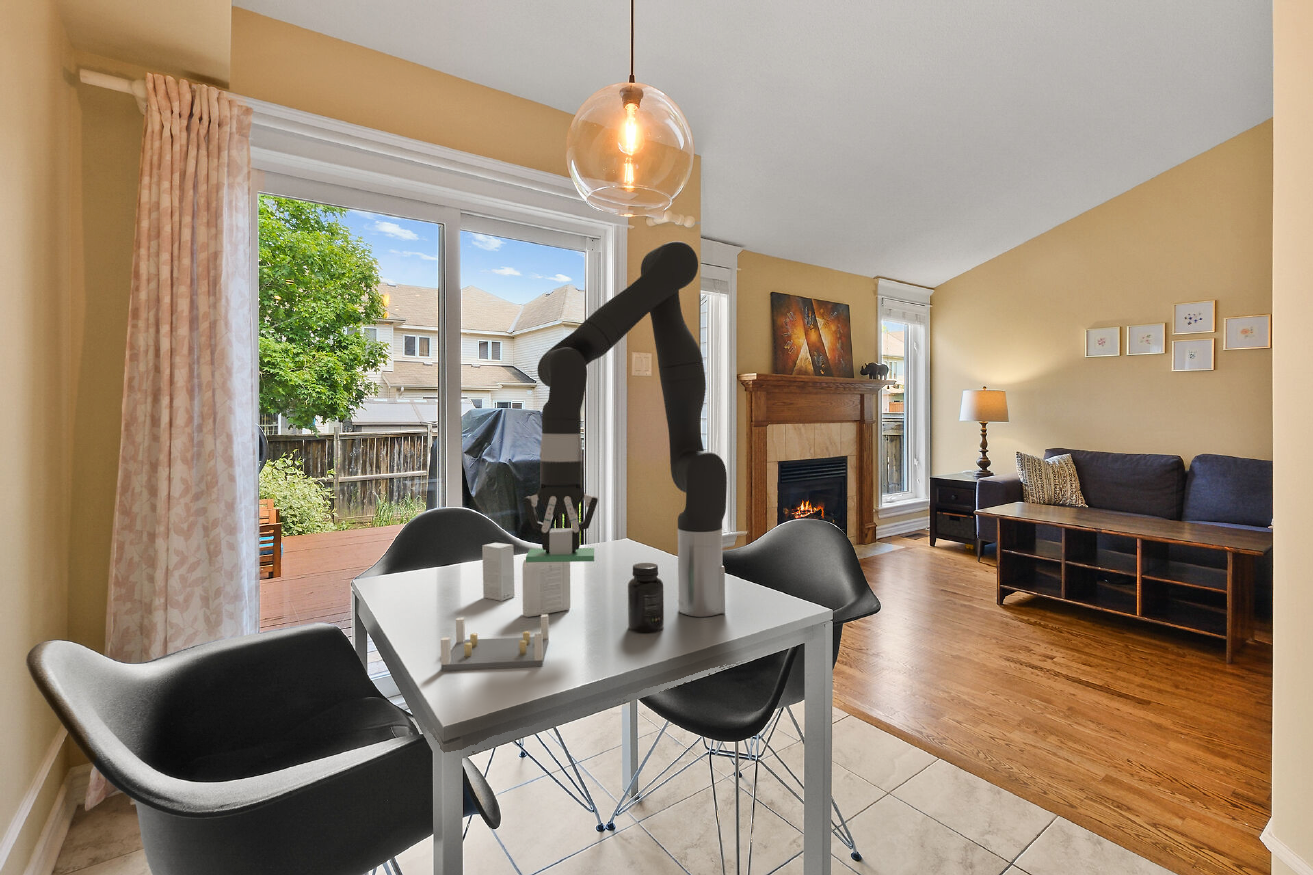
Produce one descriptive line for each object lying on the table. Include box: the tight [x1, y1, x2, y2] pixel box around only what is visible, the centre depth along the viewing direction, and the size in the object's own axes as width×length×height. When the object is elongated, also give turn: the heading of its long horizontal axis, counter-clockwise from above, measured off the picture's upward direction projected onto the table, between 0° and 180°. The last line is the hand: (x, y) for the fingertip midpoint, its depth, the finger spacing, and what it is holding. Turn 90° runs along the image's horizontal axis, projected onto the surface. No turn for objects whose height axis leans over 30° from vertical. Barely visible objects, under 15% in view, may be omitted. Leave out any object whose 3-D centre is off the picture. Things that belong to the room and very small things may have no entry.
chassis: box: [440, 613, 550, 672], centre depth 103 cm, size 16×11×5 cm
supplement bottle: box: [627, 562, 665, 634], centre depth 116 cm, size 7×7×12 cm
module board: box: [525, 527, 595, 563], centre depth 111 cm, size 12×7×5 cm, turn 96°
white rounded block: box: [521, 559, 571, 618], centre depth 127 cm, size 10×4×12 cm, turn 123°
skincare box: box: [481, 542, 516, 602], centre depth 138 cm, size 6×4×12 cm
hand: (560, 551), depth 111 cm, fingers closed on module board, 4 cm apart
